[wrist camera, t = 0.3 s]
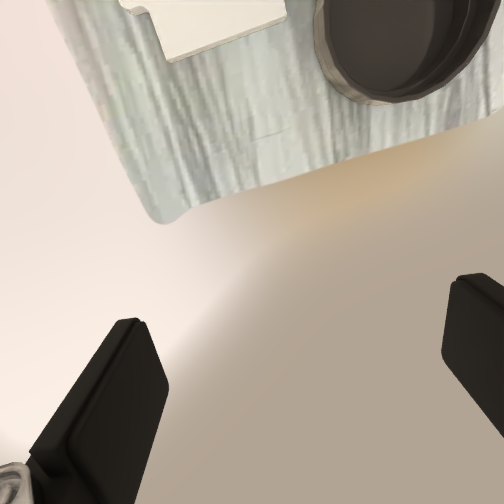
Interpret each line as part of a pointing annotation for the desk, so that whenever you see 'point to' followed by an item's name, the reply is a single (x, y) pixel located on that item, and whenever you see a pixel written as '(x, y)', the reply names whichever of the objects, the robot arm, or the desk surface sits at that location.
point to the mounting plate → (205, 22)
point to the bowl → (398, 45)
